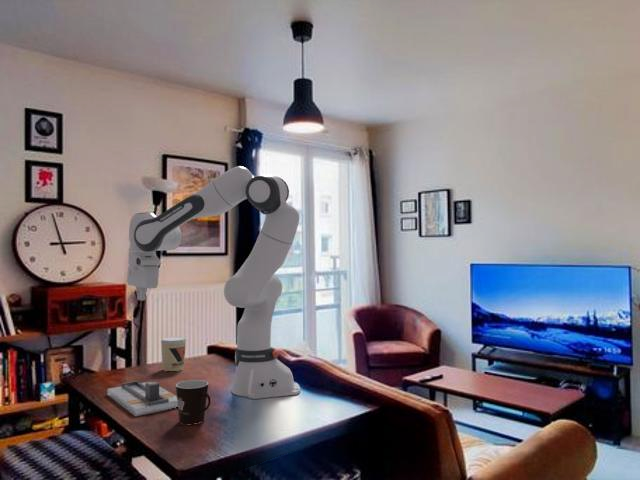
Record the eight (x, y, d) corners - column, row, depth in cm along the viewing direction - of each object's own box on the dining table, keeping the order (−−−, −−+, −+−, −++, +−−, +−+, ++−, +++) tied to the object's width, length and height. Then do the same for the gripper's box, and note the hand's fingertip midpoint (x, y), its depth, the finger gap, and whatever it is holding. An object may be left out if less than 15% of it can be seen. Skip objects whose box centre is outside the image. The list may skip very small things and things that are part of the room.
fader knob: (145, 397, 146) (145, 382, 146) (154, 396, 148) (154, 381, 148) (149, 400, 143) (149, 385, 144) (159, 398, 145) (159, 383, 145)
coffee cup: (171, 373, 184) (172, 341, 184) (155, 370, 189) (155, 339, 190) (190, 368, 192) (191, 338, 192) (174, 365, 197) (175, 335, 197)
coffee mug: (173, 418, 135) (173, 381, 135) (205, 414, 139) (205, 378, 139) (179, 432, 125) (179, 393, 125) (213, 427, 128) (213, 389, 128)
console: (107, 394, 157) (107, 385, 157) (150, 387, 165) (150, 378, 166) (135, 416, 136) (135, 405, 137) (183, 406, 145) (183, 396, 145)
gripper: (122, 259, 174) (122, 298, 174) (143, 260, 159) (142, 303, 158) (140, 259, 179) (139, 297, 178) (162, 260, 163) (161, 302, 162)
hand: (141, 300), depth 168 cm, fingers closed
